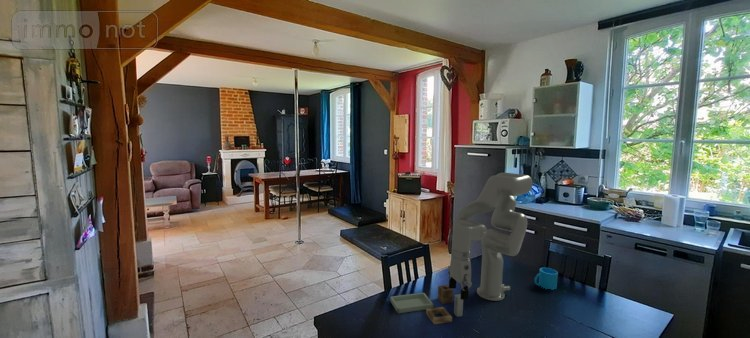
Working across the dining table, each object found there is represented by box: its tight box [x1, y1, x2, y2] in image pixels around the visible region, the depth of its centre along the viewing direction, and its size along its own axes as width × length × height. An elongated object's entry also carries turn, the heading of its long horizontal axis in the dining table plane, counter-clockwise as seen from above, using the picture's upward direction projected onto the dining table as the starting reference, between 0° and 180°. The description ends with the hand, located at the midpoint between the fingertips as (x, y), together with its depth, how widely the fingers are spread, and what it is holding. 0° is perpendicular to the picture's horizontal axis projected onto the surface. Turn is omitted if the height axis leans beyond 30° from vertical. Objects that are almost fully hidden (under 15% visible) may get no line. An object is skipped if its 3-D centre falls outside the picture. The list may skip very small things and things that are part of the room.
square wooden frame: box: [425, 306, 453, 325], centre depth 132 cm, size 8×8×2 cm
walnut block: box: [437, 284, 454, 305], centre depth 146 cm, size 5×5×6 cm
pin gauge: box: [453, 293, 464, 318], centre depth 134 cm, size 3×3×8 cm
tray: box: [389, 292, 435, 314], centre depth 142 cm, size 17×11×2 cm, turn 105°
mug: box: [534, 267, 559, 291], centre depth 161 cm, size 12×8×8 cm
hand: (458, 293), depth 133 cm, fingers open, 9 cm apart
